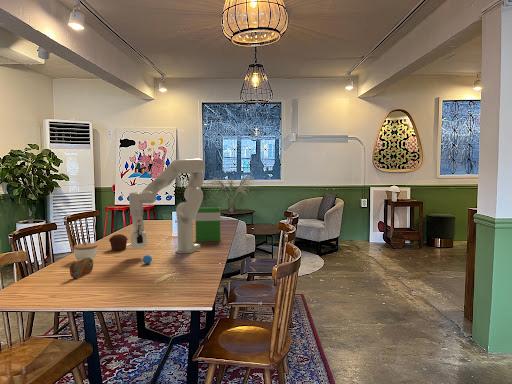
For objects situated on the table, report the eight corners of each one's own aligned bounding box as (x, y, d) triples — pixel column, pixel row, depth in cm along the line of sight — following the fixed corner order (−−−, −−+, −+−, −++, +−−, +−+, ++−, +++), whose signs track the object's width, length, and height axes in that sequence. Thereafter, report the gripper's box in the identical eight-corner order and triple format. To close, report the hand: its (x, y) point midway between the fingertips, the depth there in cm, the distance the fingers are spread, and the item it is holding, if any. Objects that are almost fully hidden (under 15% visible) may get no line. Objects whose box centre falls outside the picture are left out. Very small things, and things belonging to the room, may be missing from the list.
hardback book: (195, 241, 271) (195, 208, 270) (197, 239, 279) (196, 207, 277) (220, 240, 272) (219, 208, 271) (220, 238, 280) (220, 207, 278)
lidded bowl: (85, 257, 226) (85, 239, 225) (102, 258, 222) (101, 240, 221) (69, 262, 214) (68, 243, 213) (86, 264, 210) (85, 244, 209)
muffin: (127, 247, 254) (126, 232, 253) (129, 250, 244) (128, 235, 243) (108, 248, 248) (107, 234, 248) (109, 252, 239) (109, 236, 238)
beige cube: (144, 244, 230) (143, 230, 229) (146, 246, 223) (146, 232, 222) (131, 246, 226) (130, 232, 226) (133, 248, 220) (132, 234, 219)
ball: (151, 262, 213) (150, 253, 213) (153, 264, 209) (152, 255, 208) (142, 263, 211) (141, 254, 210) (143, 265, 206) (143, 256, 206)
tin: (74, 280, 180) (73, 263, 179) (68, 280, 181) (67, 263, 180) (93, 271, 195) (93, 255, 194) (88, 271, 195) (87, 255, 195)
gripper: (146, 213, 217) (148, 243, 219) (140, 210, 232) (142, 238, 234) (132, 215, 213) (134, 245, 215) (127, 212, 229) (129, 240, 230)
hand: (138, 241), depth 224 cm, fingers closed on beige cube, 7 cm apart
